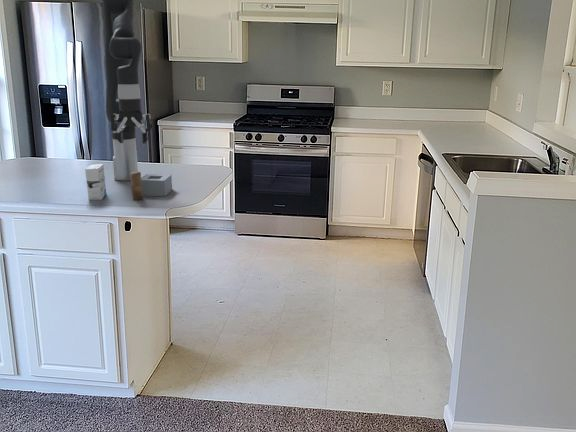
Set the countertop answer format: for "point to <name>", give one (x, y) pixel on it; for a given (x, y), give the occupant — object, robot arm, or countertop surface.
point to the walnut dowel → (136, 185)
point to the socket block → (156, 184)
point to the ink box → (95, 182)
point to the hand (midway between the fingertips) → (133, 143)
